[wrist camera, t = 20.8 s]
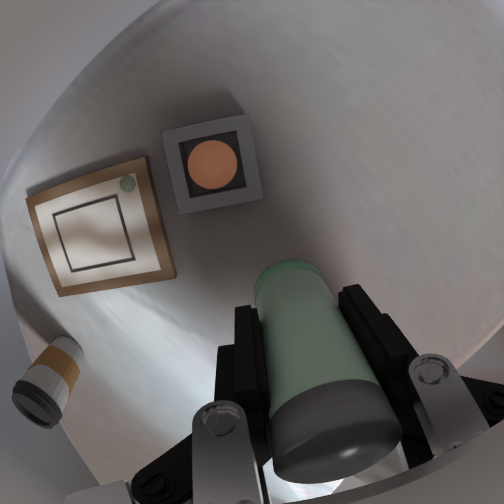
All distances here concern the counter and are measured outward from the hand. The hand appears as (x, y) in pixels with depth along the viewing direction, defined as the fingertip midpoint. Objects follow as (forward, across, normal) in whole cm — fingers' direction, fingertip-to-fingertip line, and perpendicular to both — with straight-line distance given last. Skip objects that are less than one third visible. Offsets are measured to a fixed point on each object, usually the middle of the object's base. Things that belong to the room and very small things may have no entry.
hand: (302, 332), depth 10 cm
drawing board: (+25, +21, 0) cm, 33 cm away
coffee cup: (+25, +35, +18) cm, 47 cm away
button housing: (+25, +4, -5) cm, 26 cm away
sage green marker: (+3, 0, 0) cm, 3 cm away
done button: (+24, +4, -5) cm, 25 cm away
